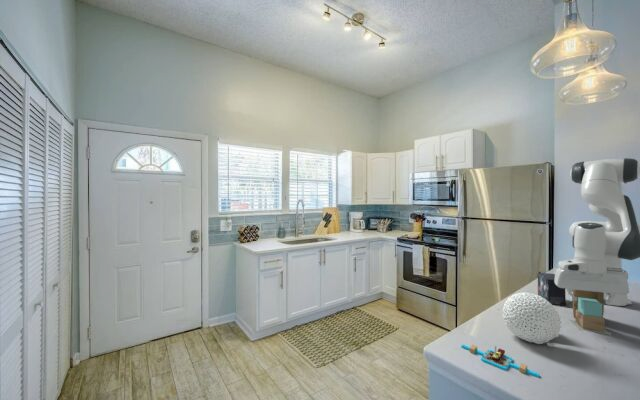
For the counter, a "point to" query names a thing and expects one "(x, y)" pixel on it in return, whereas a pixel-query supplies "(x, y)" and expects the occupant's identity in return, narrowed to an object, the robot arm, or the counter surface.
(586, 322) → the walnut base block
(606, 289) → the robot arm
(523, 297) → the white coral
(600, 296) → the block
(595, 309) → the teal cube
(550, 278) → the small box
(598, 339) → the counter surface
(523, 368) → the gear mechanism
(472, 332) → the counter surface
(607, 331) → the square tile
